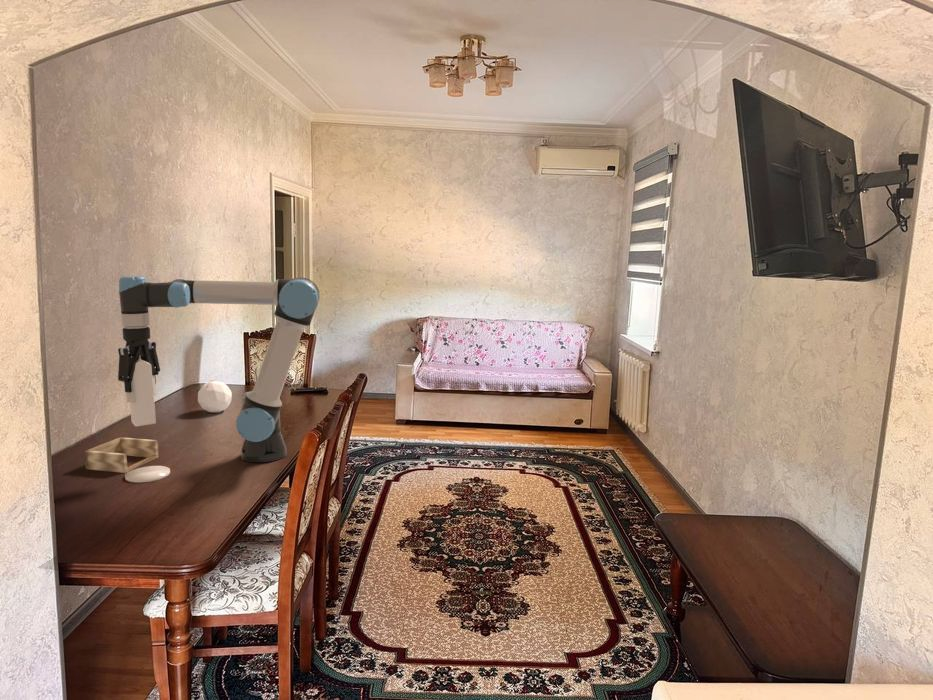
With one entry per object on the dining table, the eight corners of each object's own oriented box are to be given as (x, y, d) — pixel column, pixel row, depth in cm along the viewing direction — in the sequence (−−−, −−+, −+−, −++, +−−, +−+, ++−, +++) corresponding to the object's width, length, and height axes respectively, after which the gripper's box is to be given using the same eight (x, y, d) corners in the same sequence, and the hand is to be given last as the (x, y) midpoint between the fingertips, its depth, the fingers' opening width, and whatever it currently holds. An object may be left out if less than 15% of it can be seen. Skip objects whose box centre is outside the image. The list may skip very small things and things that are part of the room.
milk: (135, 426, 202) (128, 356, 198) (131, 422, 206) (125, 353, 202) (156, 423, 205) (150, 354, 201) (152, 419, 210) (146, 351, 206)
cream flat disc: (179, 469, 213) (178, 467, 213) (151, 484, 201) (151, 481, 201) (144, 466, 216) (144, 464, 216) (115, 480, 204) (115, 478, 204)
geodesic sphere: (221, 404, 273) (228, 373, 280) (187, 404, 274) (194, 373, 280) (233, 418, 287) (239, 388, 293) (201, 417, 287) (207, 388, 293)
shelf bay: (158, 457, 226) (157, 440, 225) (125, 472, 210) (123, 455, 209) (121, 453, 229) (120, 437, 228) (85, 469, 214) (83, 451, 213)
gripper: (149, 322, 211) (154, 390, 215) (99, 331, 191) (106, 406, 195) (169, 323, 210) (174, 391, 214) (121, 331, 190) (127, 407, 193)
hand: (141, 398), depth 204 cm, fingers closed on milk, 8 cm apart
